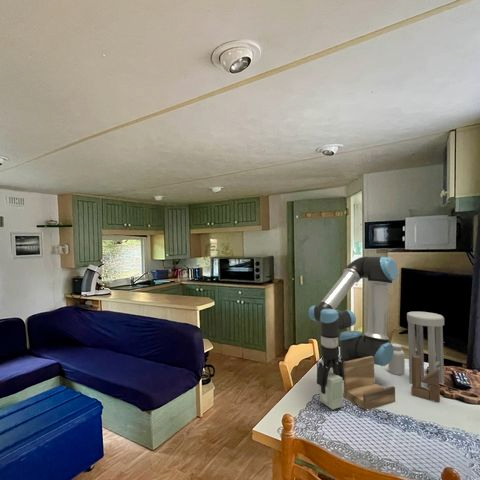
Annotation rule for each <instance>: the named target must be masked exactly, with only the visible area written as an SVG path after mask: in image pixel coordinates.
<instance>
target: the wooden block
mask: <svg viewBox="0 0 480 480" xmlns="http://www.w3.org/2000/svg"><path fill="white" fill-rule="evenodd" d="M423 383H424V384H428V388H426V387H422V384H423ZM411 385H412V386H411V387H410V388H411V390H410V391H411V396H415V397H419V398H422V399H425V400H430V401H432V402H436V403H440V401H441V394H440V393H441V392H440V391H441V390H440V387H441V386H440V385H439V368H438V369H436V370H435V371H433V372H431V373H430V374H429V373H428V374H427V375H424V378H422V379H421V359H420V356H418V355H417V354H416V355H412V384H411Z"/></svg>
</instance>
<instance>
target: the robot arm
mask: <svg viewBox="0 0 480 480" xmlns="http://www.w3.org/2000/svg"><path fill="white" fill-rule="evenodd" d="M398 268H399V267H398V265H397V262H396V261H395V259H394V258H392V257H389V256H388V257H387V256H361V257H358V258H356V259H354V260H353V261H351V262H349V264H347V266H346V267H345V268H344V269H343V272H342V275H341V276H340V277H339V279H337V281H336V282H335V284H334V285H333V286H332V287H331V289H330V290H329V291H328V292H327V293H326V295H325V296H324V298H323V299H321V300H320V303H319V304H318V305H312V306H310V307H309V309H308V317H309V319H310V320H312V321H314V322H317V323H320V344H321V346H320V353H321V360H317V361H315V364H316V384H317V385H318V386H319V385H320V386H321V393H322V399H323V400H324V401H325V402H328V387H327V386H326V383H327V378H328V373H329V371H331V369H332V372H333V373H334V374H336V375H338V376H340V377H342V378H343V380H344V366H343V362H345V361H350V360H354V359H359V358H364V357H369V356H373V357H374V366H376V365H377V366H381V367H385V366H387V365H388V363H389V362H390V361H391V359H392V356H393V351H394V350H393V346H392V344H393V343H390V338H389V337H388V335H387V320H388V305H389V304H388V303H389V287H390V286H392V285H393V281H395V280H397V279H398V276H399V269H398ZM361 279H367V282H368V283H369V284H370V289H369V290H370V291H369V301H368V302H369V303H368V315H367V316H368V317H367V330H366V332H364V333H363V332H361V331H359V330H346V331H345V330H344V331H342V332H340V333H339V331H340V330H343V329H347V328H351V327H353V326H355V324H356V321H357V317H356V315H355V313H354V312H353V311H352V310H350V309H344V310H339V309H337V308H338V306H339V305H340V304H341V303H342V300H344V298H345V297H346V295H347V294H348V293H349V292H350V290H352V289H353V288H352V287H353V286H354V285H356V284H355V283H358V282H360V280H361Z"/></svg>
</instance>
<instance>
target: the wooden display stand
mask: <svg viewBox="0 0 480 480" xmlns="http://www.w3.org/2000/svg"><path fill="white" fill-rule="evenodd" d="M343 366H344V380H343V398H345V399H347V400H348V401H350V402H351V403H353V404H354V403H355V404H354V405H356V404H357V405H359V406H361V407H362V408H364V409H365V410H367V409H370V410H372V408H373V409H376V408H379V407H382V406H386V405H389V404H392V403H395V402H396V387H395V386H393V385H392V386H389V387H383V386H382V385H379V384H377V383H375V364H374V357H373V356H369V357H364V358H359V359H354V360H350V361H345V362H343ZM357 405H356V406H357ZM359 406H358V407H359ZM361 407H360V408H361ZM362 408H361V409H362ZM364 409H363V410H364ZM365 410H364V411H365ZM367 411H368V410H367Z"/></svg>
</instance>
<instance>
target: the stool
mask: <svg viewBox="0 0 480 480" xmlns="http://www.w3.org/2000/svg"><path fill="white" fill-rule="evenodd" d="M406 321H407V324H408V325H407V331H408V332H407V334H408V335H407V336H408V337H407V340H408V342H407V343H408V370H409V371H408V375H409V376H408V378H409V379H408V381H409V382H408V383H409V384H411V385H412V355H418V356H420V359H421V379H422V378H424V377H425V366H424V365H425V358H424V357H425V356H424V327H427V349H428V352H427V353H428V356H427V357H428V374H430V373H431V372H433V371H435V370H436V369H438V368H439V383H444V384H445V372H444V370H445V369H444V368H445V367H444V364H445V363H444V337H443V336H444V333H443V332H444V331H443V329H444V328H443V326H445V317H444V316H443V315H442V314H438V313H436V312H435V313H434V312H427V311H409V312H407V313H406Z"/></svg>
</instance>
